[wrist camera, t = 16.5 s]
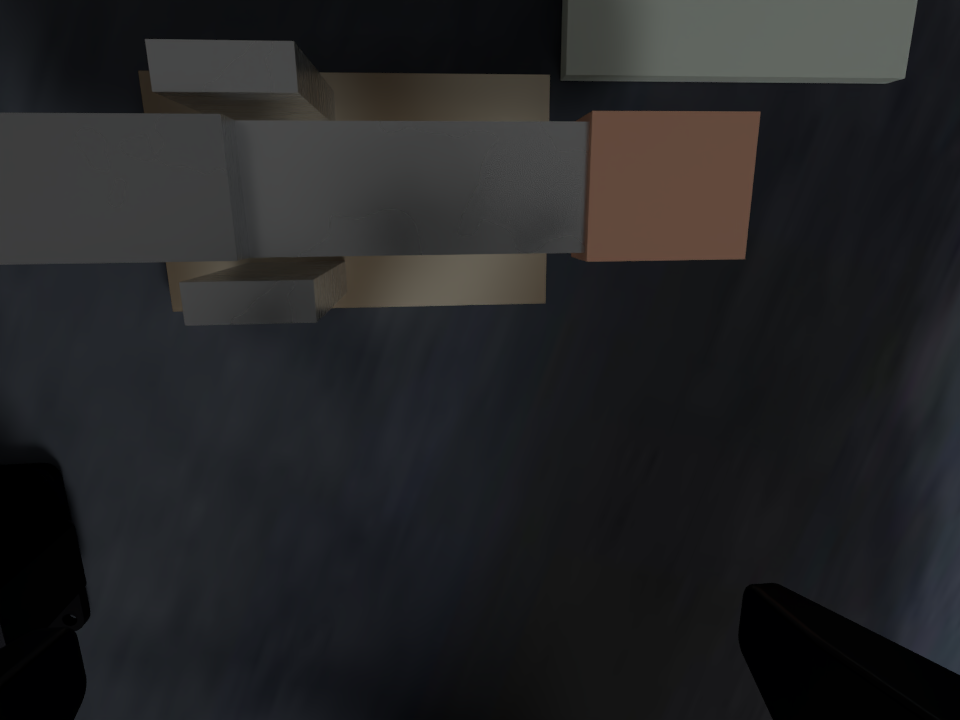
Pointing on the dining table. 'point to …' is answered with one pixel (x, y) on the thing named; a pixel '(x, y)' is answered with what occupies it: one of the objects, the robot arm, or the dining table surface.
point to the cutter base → (334, 97)
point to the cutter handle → (373, 187)
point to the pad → (736, 40)
